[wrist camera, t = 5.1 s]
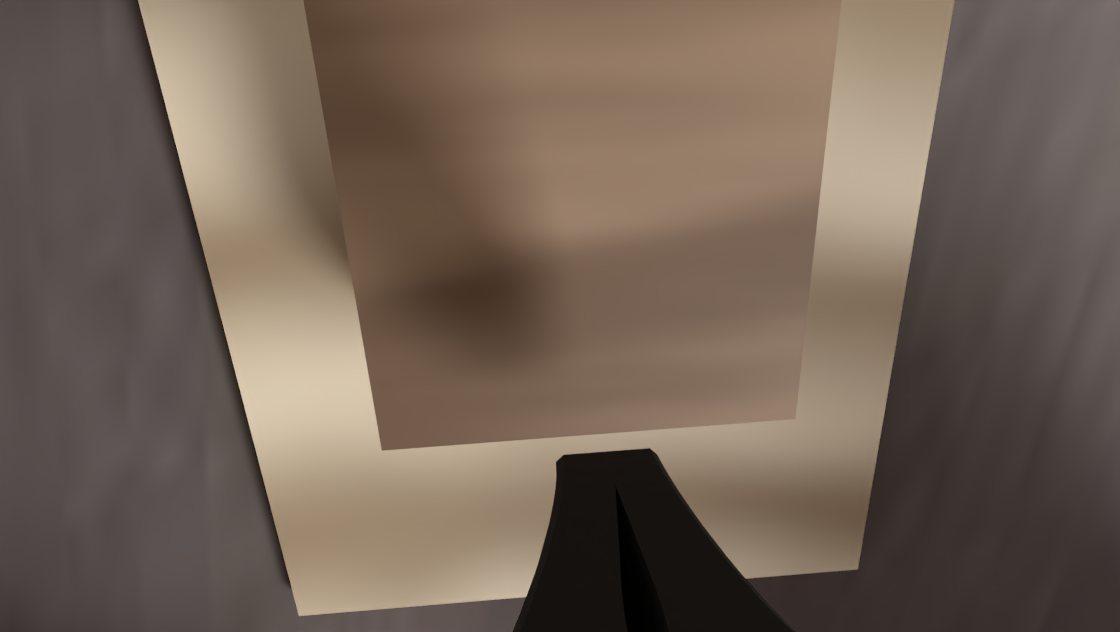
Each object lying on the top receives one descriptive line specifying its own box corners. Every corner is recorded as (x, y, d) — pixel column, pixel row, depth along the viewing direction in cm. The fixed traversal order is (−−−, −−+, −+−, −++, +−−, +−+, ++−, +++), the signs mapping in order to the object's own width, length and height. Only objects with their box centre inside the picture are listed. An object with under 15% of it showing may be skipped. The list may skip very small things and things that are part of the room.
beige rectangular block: (795, 418, 16) (851, -92, 12) (382, 450, 15) (292, -61, 11) (738, 303, 19) (767, -122, 15) (400, 327, 19) (336, -99, 15)
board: (849, 552, 24) (857, 569, 23) (303, 597, 23) (298, 616, 23) (983, -274, 15) (1001, -275, 14) (91, -233, 14) (77, -234, 14)
